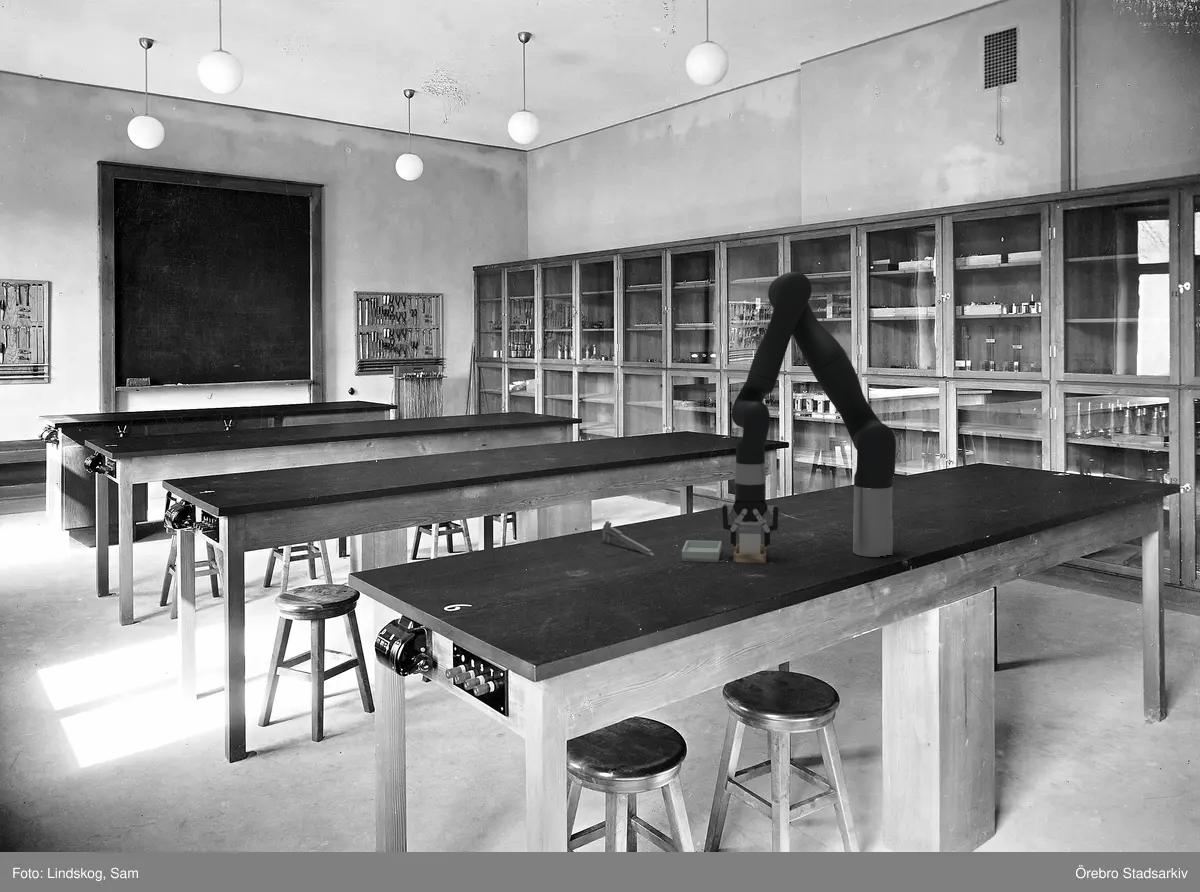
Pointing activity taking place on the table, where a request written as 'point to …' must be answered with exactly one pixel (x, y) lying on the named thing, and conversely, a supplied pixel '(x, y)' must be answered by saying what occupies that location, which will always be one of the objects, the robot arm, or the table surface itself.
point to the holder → (749, 556)
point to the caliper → (622, 539)
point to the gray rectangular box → (750, 538)
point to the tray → (701, 551)
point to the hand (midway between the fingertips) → (750, 546)
